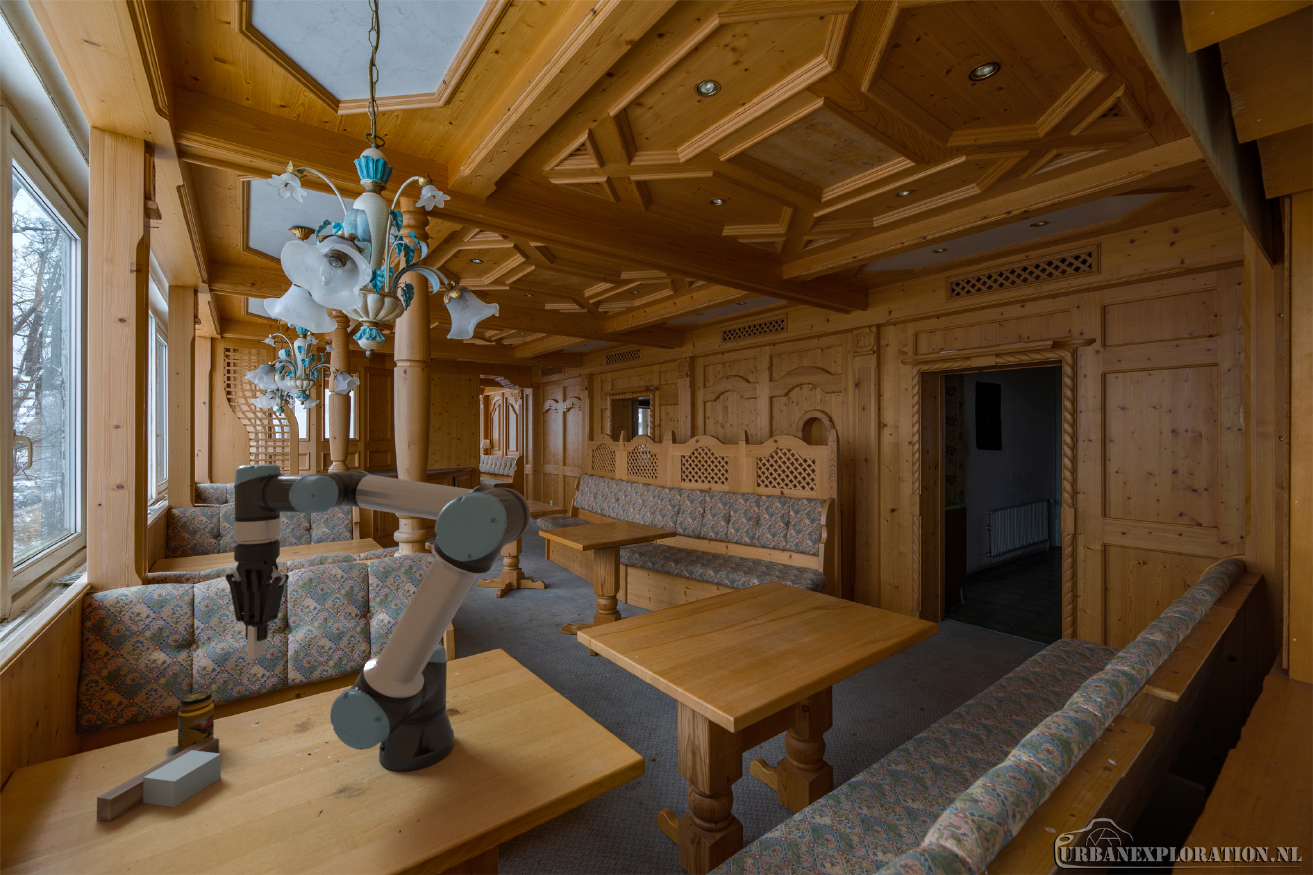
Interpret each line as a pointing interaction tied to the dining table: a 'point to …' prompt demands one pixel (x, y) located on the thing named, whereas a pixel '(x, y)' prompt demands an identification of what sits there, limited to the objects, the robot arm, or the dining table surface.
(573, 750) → the dining table surface
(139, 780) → the board
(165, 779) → the block
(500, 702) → the dining table surface
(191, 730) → the condiment
